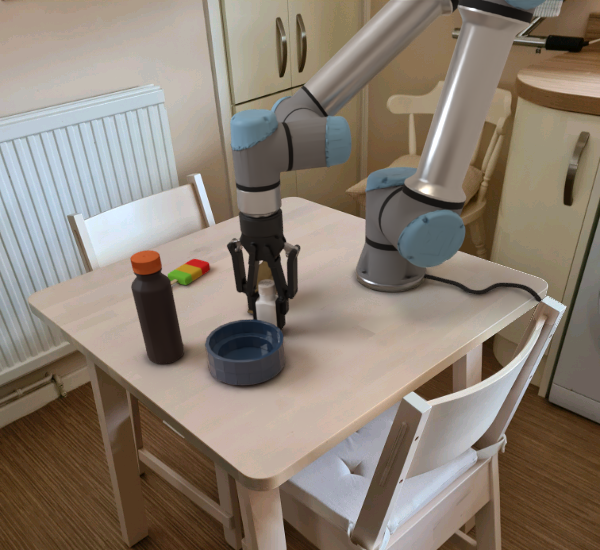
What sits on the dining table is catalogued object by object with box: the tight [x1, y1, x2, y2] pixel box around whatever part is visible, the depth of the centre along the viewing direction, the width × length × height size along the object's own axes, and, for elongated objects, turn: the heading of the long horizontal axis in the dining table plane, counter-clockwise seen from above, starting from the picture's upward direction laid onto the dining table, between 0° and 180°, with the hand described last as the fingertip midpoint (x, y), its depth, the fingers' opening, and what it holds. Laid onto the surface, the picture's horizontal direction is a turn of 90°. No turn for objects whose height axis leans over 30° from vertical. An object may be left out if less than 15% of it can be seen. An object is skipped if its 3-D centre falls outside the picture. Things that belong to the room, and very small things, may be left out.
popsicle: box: [167, 258, 211, 286], centre depth 139 cm, size 6×15×2 cm, turn 147°
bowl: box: [204, 318, 286, 386], centre depth 111 cm, size 14×14×6 cm
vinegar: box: [129, 249, 185, 365], centre depth 110 cm, size 7×7×20 cm
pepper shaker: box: [256, 280, 278, 326], centre depth 118 cm, size 4×4×10 cm
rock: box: [247, 261, 277, 315], centre depth 128 cm, size 11×9×10 cm
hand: (270, 325), depth 120 cm, fingers closed on pepper shaker, 4 cm apart
